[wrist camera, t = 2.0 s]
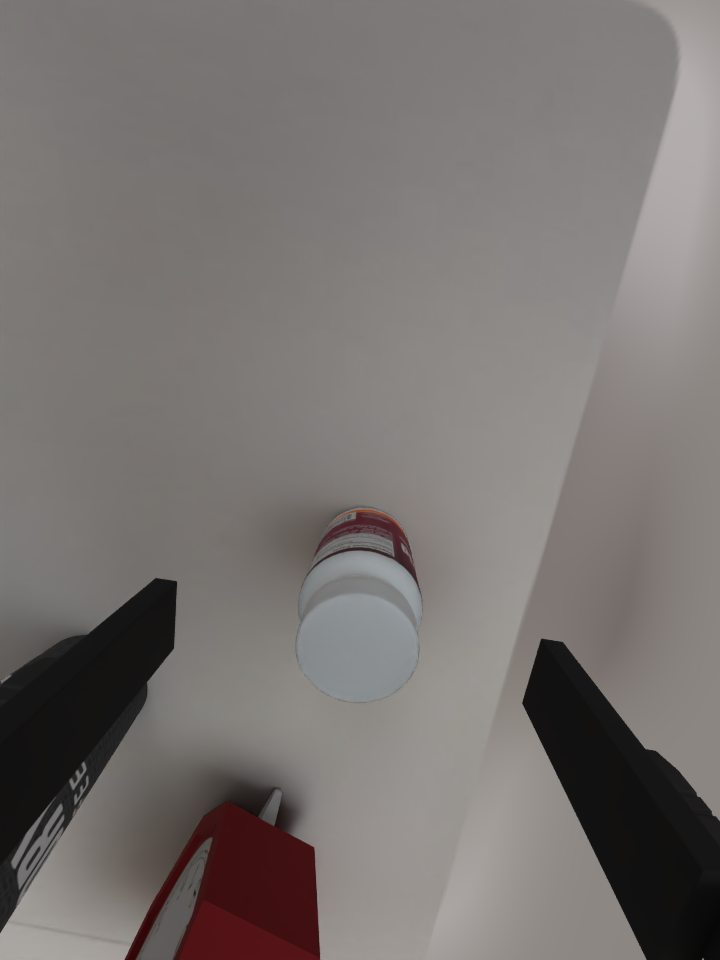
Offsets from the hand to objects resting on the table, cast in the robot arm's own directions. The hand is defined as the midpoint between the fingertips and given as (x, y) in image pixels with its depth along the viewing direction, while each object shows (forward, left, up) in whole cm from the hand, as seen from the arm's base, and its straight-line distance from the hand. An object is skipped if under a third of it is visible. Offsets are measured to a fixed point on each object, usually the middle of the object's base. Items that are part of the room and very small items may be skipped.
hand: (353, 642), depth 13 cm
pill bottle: (-1, 0, -7) cm, 7 cm away
